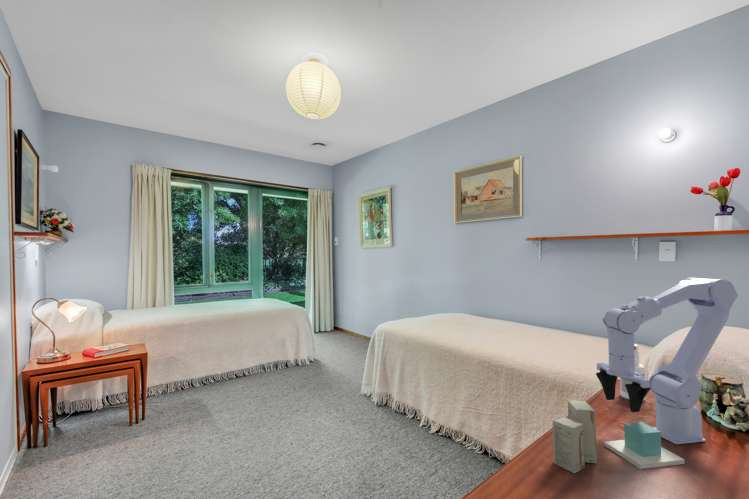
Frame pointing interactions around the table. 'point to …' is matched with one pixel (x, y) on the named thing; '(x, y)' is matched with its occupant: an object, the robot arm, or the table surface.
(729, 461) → the table surface
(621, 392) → the spray bottle
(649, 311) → the robot arm
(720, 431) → the table surface
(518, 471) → the table surface
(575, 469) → the skincare box
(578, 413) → the skincare box
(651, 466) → the post board
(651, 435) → the teal brick on tray
